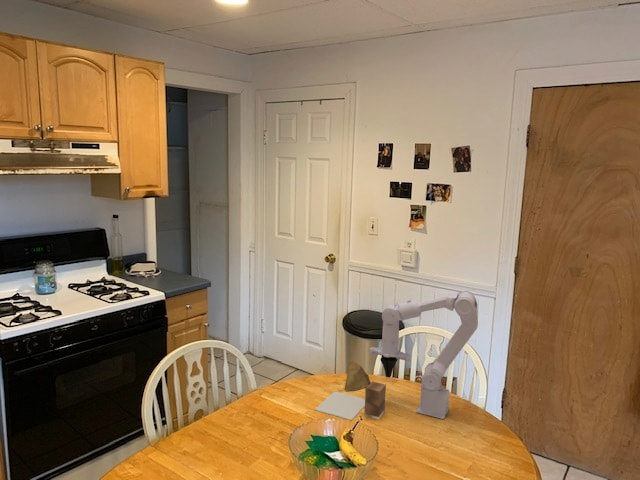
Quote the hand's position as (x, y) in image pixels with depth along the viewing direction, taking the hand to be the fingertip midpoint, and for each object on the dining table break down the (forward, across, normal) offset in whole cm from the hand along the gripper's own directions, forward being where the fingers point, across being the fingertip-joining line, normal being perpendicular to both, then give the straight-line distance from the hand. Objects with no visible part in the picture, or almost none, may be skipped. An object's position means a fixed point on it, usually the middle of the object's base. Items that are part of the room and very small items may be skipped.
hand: (388, 376), depth 171 cm
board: (+10, -13, -10) cm, 19 cm away
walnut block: (+10, -1, -10) cm, 14 cm away
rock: (+10, -14, +6) cm, 18 cm away
